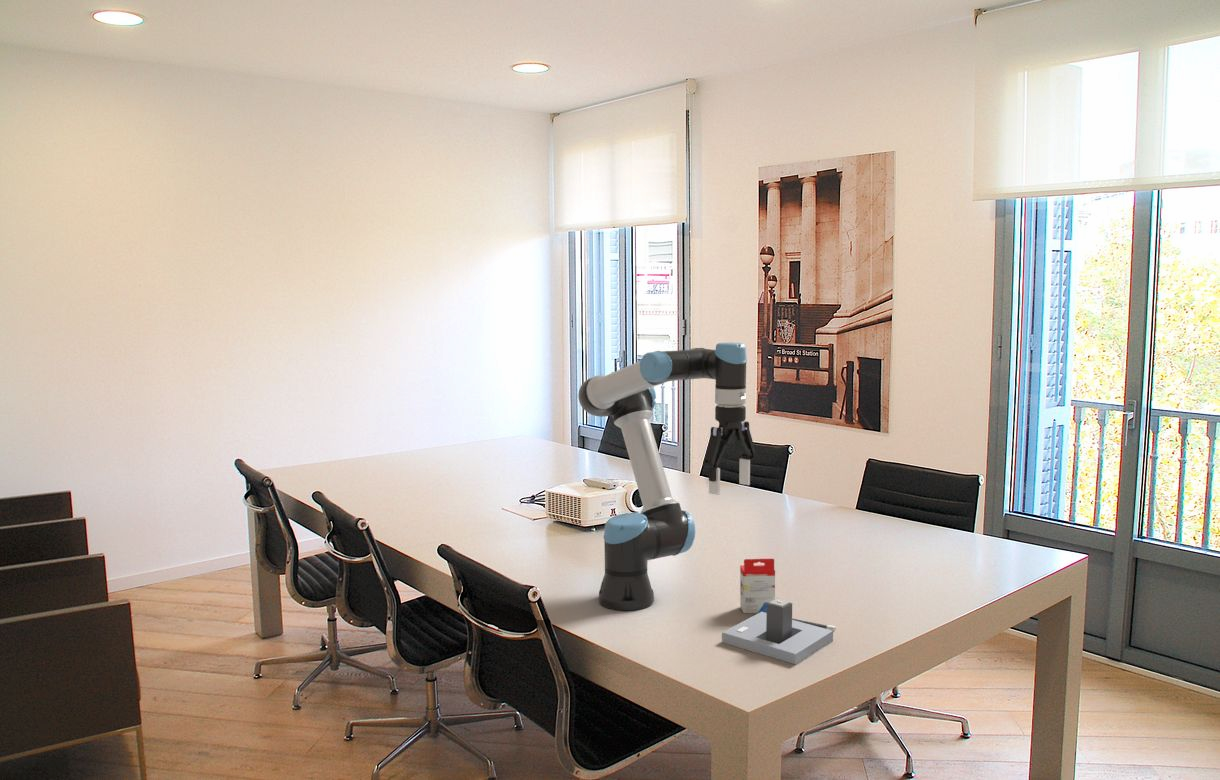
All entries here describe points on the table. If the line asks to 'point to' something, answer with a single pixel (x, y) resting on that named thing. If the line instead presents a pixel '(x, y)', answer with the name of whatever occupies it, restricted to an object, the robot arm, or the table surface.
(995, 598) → the table surface
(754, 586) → the ink box
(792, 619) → the cable
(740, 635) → the plate
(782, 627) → the charger plug
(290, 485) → the table surface
